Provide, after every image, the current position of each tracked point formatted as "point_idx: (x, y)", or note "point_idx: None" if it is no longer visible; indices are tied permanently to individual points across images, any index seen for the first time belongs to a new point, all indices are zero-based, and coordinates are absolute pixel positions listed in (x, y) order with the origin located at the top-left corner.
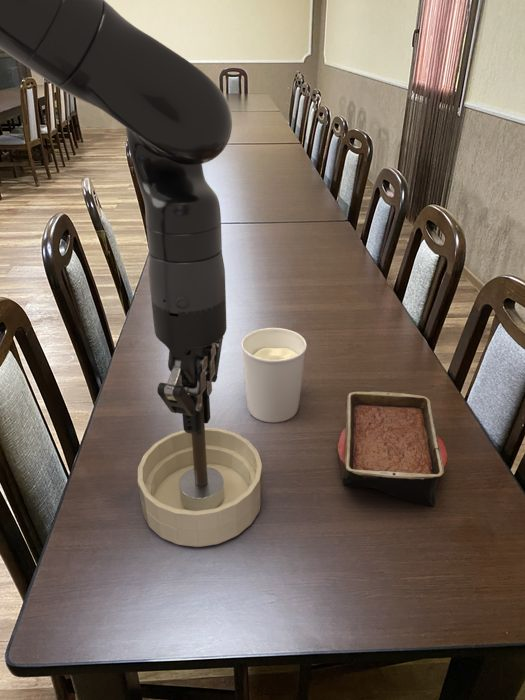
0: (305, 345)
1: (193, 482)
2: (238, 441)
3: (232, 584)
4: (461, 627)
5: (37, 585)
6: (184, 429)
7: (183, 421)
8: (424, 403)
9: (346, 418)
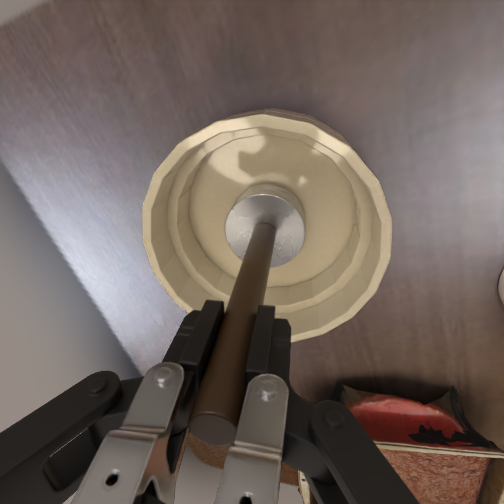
0: None
1: (258, 221)
2: (357, 293)
3: (157, 284)
4: (196, 440)
5: (25, 15)
6: (185, 316)
7: (197, 319)
8: None
9: (432, 446)
